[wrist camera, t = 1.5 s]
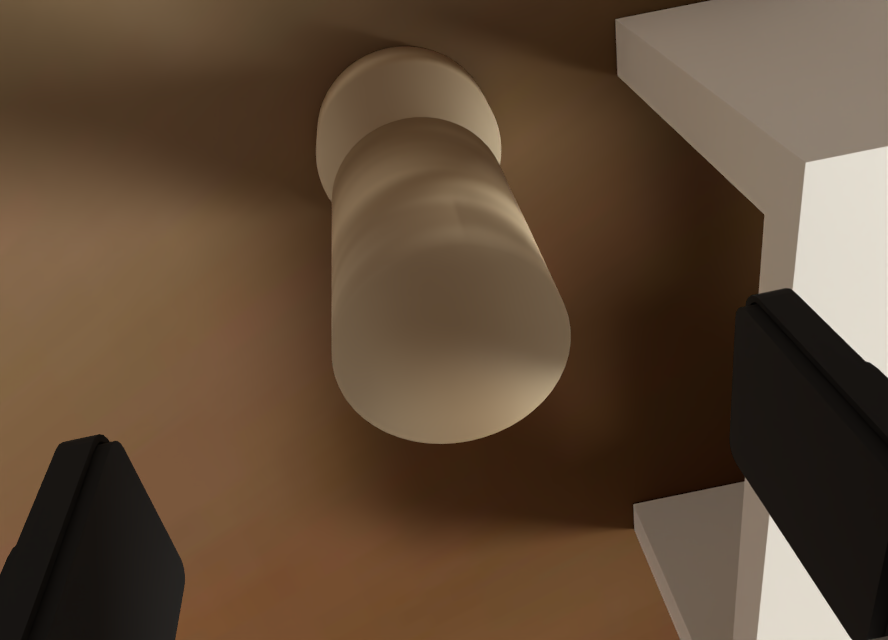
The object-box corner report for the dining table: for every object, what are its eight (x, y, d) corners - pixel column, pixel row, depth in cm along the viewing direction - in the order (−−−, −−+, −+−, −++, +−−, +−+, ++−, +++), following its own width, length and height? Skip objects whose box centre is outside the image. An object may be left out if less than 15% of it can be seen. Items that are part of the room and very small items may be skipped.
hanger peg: (478, 29, 21) (585, 193, 12) (500, 197, 23) (601, 431, 15) (296, 65, 20) (270, 256, 12) (339, 229, 23) (344, 483, 14)
